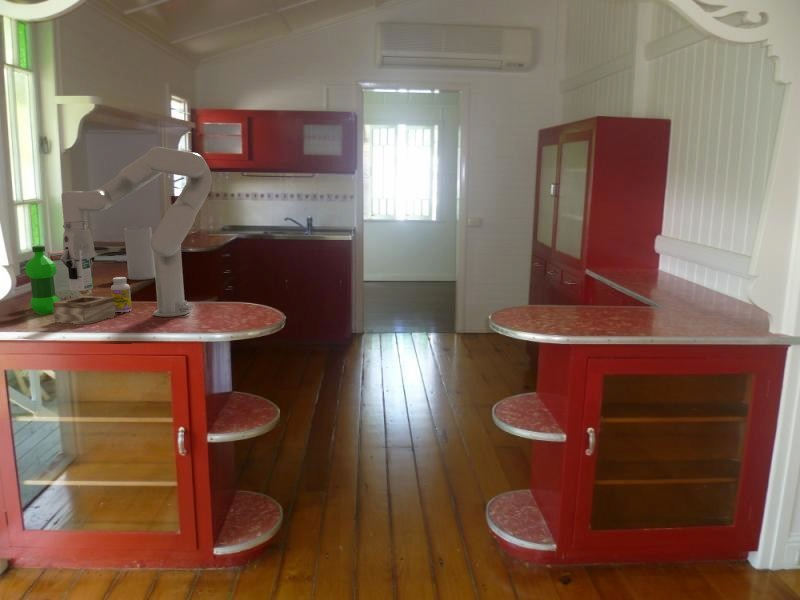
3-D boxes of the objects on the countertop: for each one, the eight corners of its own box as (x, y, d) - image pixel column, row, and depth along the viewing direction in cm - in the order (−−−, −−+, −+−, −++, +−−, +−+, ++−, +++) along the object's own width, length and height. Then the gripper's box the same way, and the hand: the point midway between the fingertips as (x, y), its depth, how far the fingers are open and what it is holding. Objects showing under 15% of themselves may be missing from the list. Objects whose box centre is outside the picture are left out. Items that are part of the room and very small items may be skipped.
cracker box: (89, 298, 287) (84, 248, 283) (93, 300, 282) (88, 250, 279) (52, 302, 279) (47, 251, 275) (55, 305, 274) (49, 252, 270)
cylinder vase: (159, 278, 341) (155, 227, 336) (134, 281, 333) (129, 229, 328) (149, 275, 350) (145, 226, 345) (124, 278, 342) (120, 228, 337)
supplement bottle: (111, 314, 255) (108, 279, 252) (114, 310, 261) (110, 277, 259) (130, 312, 256) (127, 278, 254) (132, 309, 263) (129, 276, 260)
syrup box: (84, 291, 240) (80, 249, 238) (69, 290, 242) (65, 249, 239) (94, 288, 246) (90, 248, 243) (79, 288, 247) (76, 247, 245)
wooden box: (115, 316, 250) (113, 297, 249) (86, 324, 237) (84, 304, 236) (85, 314, 255) (83, 295, 253) (54, 322, 242) (52, 302, 240)
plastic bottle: (47, 309, 265) (39, 244, 261) (67, 311, 261) (60, 245, 257) (24, 314, 256) (16, 247, 251) (44, 316, 252) (37, 248, 247)
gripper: (64, 228, 231) (70, 281, 234) (103, 225, 246) (107, 274, 250) (47, 228, 233) (53, 280, 236) (86, 224, 249) (91, 273, 252)
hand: (81, 277), depth 243 cm, fingers closed on syrup box, 6 cm apart
